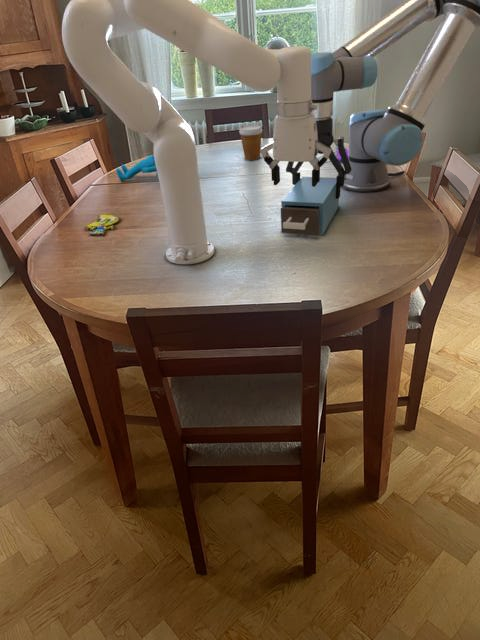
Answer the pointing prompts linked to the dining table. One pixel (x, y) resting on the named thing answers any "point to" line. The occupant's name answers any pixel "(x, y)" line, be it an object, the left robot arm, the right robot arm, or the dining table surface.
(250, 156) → the disposable coffee cup
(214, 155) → the dining table surface
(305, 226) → the drawer
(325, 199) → the blue drawer cabinet
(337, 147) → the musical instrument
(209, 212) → the dining table surface
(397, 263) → the dining table surface
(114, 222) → the toy
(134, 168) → the toy
